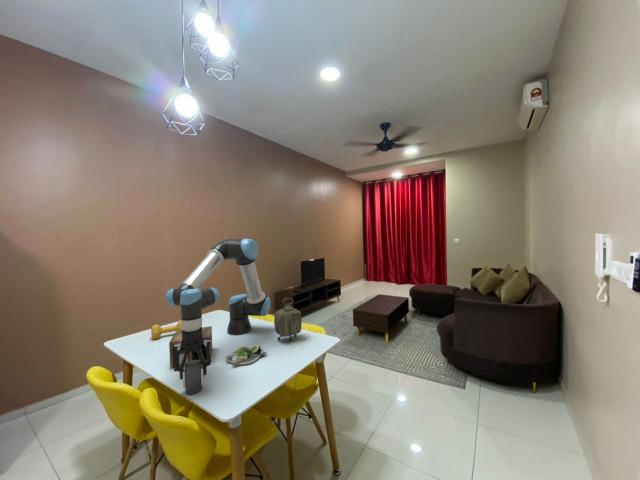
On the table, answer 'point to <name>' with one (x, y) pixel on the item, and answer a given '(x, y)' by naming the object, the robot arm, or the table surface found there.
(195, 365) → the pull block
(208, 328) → the lane shelf
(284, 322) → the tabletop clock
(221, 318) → the table surface
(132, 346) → the table surface
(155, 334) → the dumbbell
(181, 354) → the grey lane block
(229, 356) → the avocado toast plate
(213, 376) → the table surface
